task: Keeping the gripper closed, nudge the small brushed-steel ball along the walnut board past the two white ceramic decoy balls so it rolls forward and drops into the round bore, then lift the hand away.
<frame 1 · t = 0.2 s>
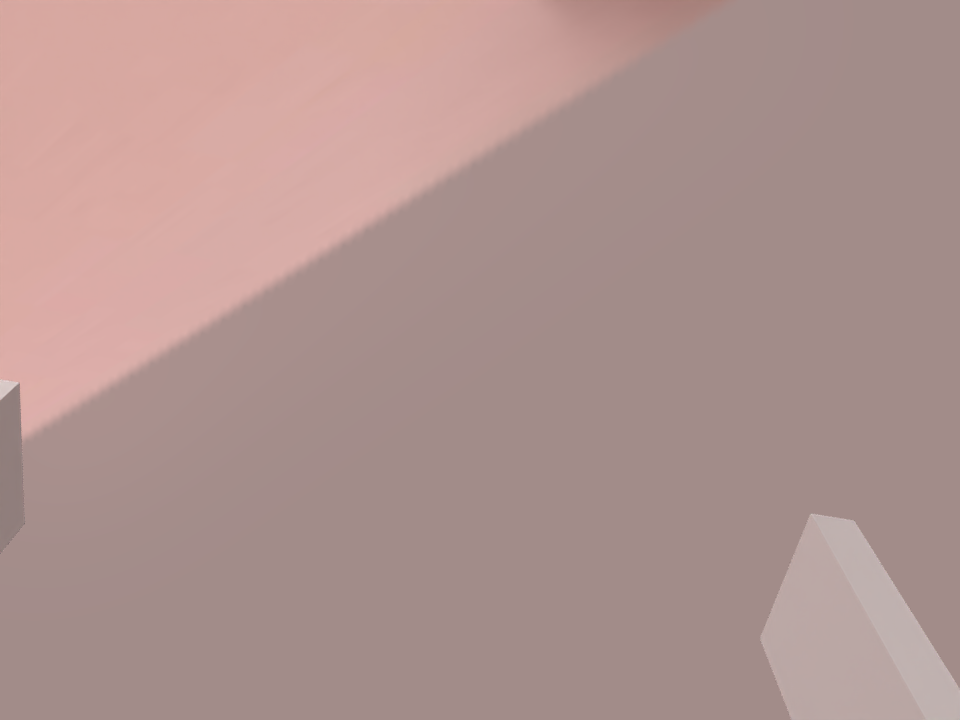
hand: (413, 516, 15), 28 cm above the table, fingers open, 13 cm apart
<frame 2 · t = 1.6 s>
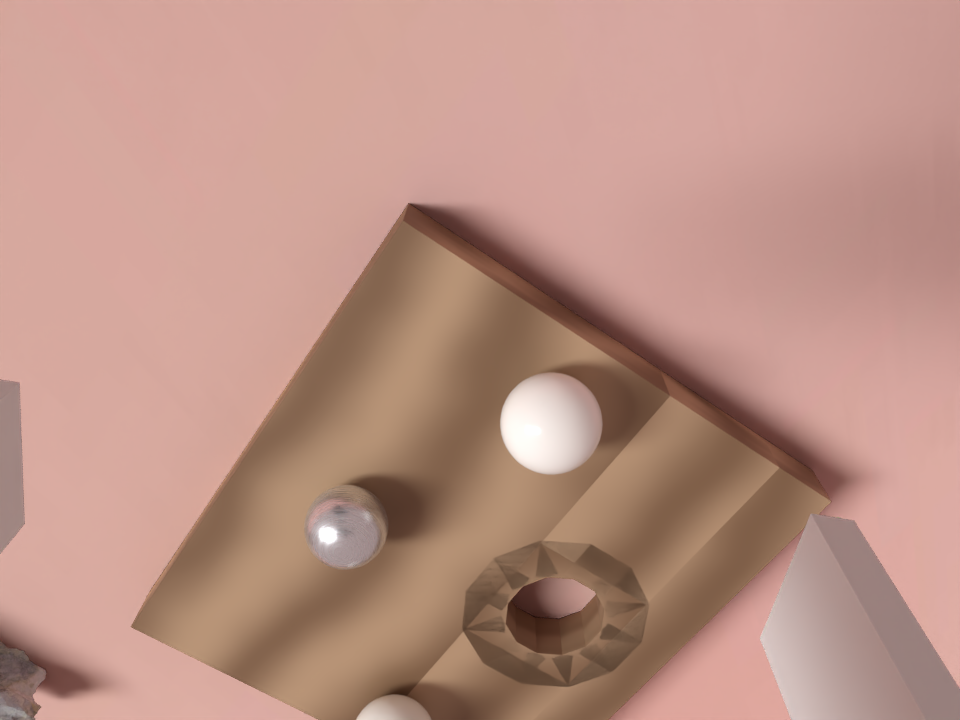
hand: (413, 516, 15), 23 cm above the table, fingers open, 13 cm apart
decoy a: (551, 423, 35), point 4 cm above the table, touching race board
steel ball: (346, 526, 38), point 4 cm above the table, touching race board
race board: (467, 534, 43), on the table
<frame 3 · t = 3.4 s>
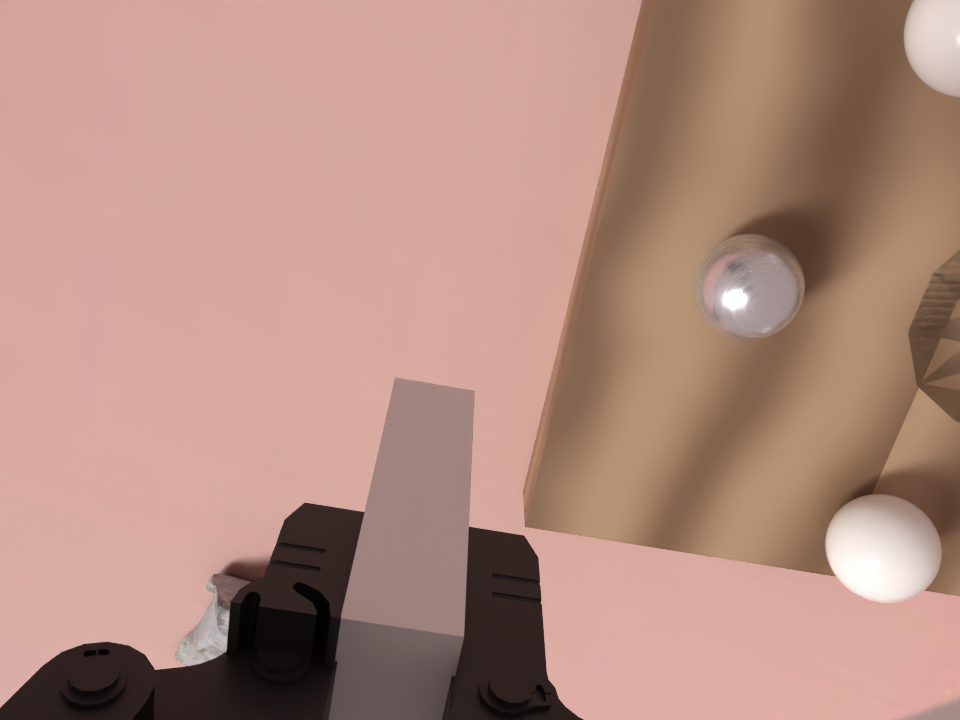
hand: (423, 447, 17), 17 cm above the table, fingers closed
decoy b: (882, 547, 34), point 4 cm above the table, touching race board
stone: (307, 618, 42), on the table
steel ball: (748, 287, 30), point 4 cm above the table, touching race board
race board: (872, 275, 34), on the table
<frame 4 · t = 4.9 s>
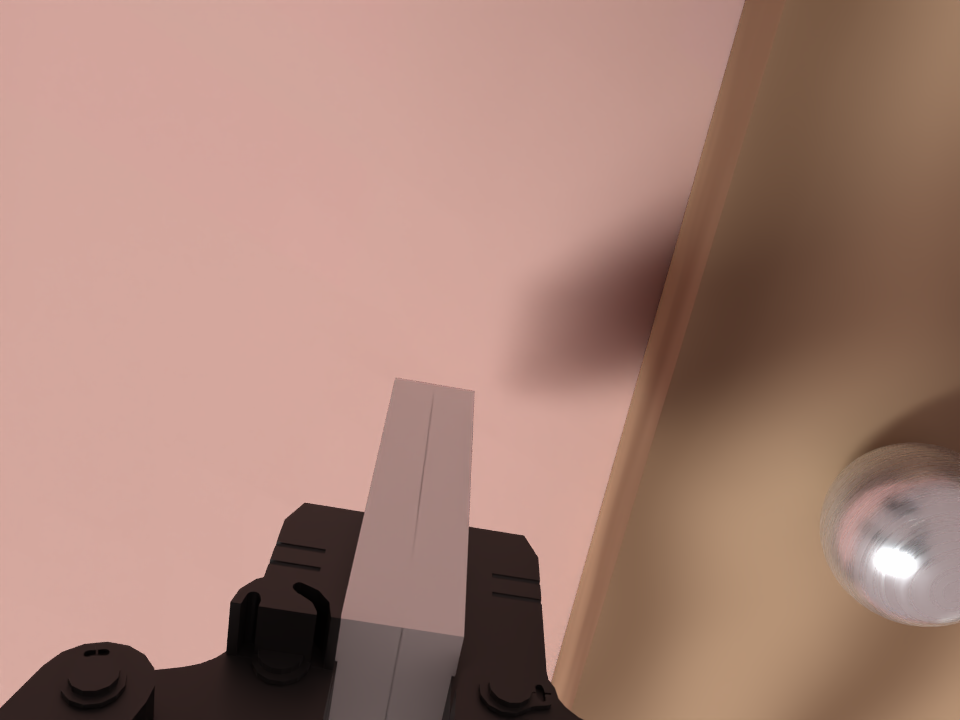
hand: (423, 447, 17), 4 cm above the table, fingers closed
steel ball: (915, 532, 17), point 4 cm above the table, touching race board
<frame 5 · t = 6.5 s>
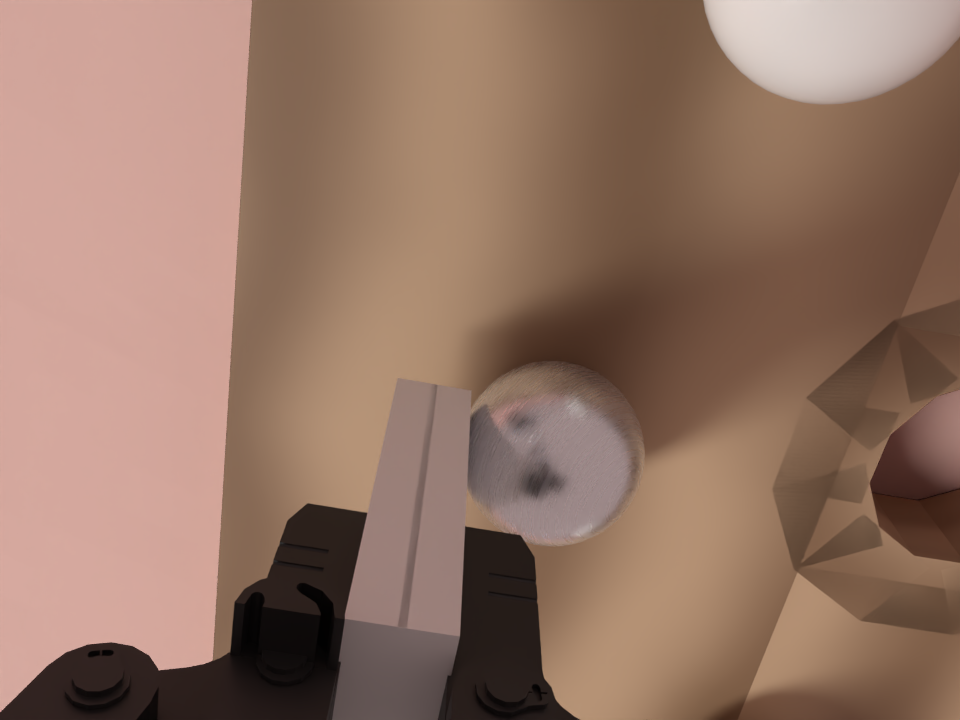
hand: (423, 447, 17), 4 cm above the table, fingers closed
steel ball: (551, 452, 17), point 4 cm above the table, tilted 48°, touching gripper, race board
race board: (726, 385, 21), on the table
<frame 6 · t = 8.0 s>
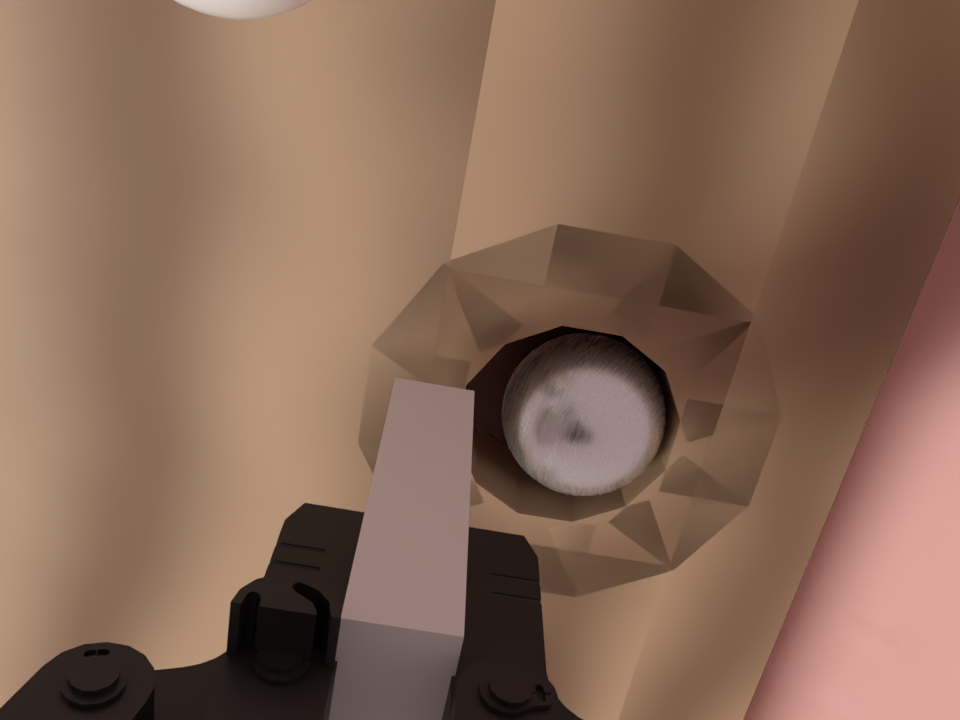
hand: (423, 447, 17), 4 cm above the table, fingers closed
steel ball: (582, 414, 19), point 2 cm above the table, tilted 62°
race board: (346, 340, 21), on the table
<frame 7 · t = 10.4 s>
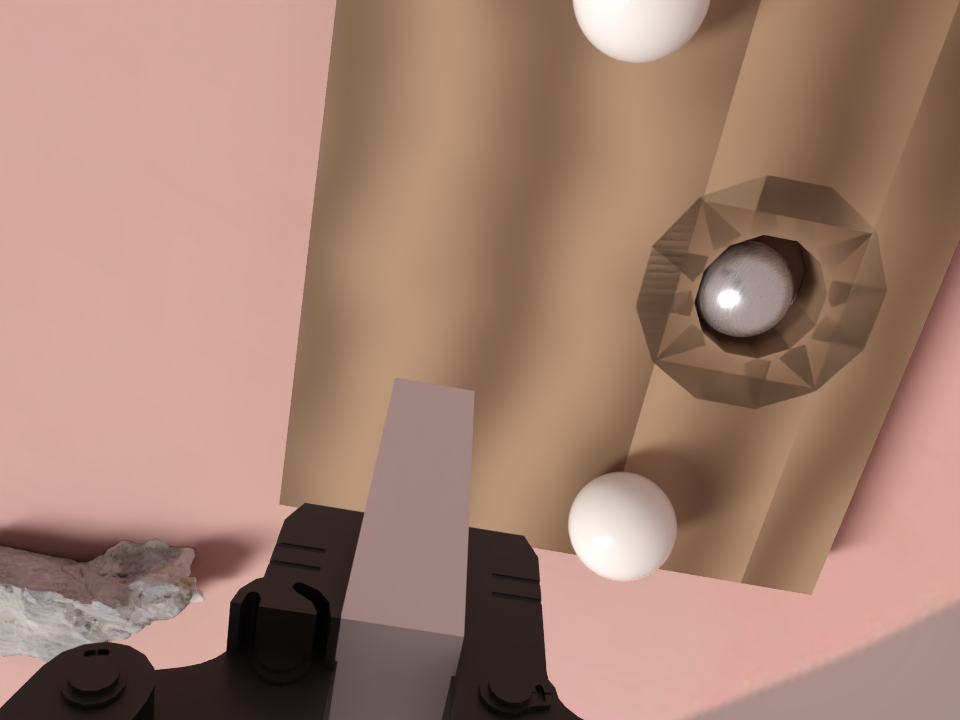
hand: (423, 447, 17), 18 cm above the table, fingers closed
decoy b: (622, 525, 33), point 4 cm above the table, touching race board
stone: (74, 577, 41), on the table
steel ball: (742, 288, 32), point 2 cm above the table, tilted 34°
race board: (614, 251, 34), on the table
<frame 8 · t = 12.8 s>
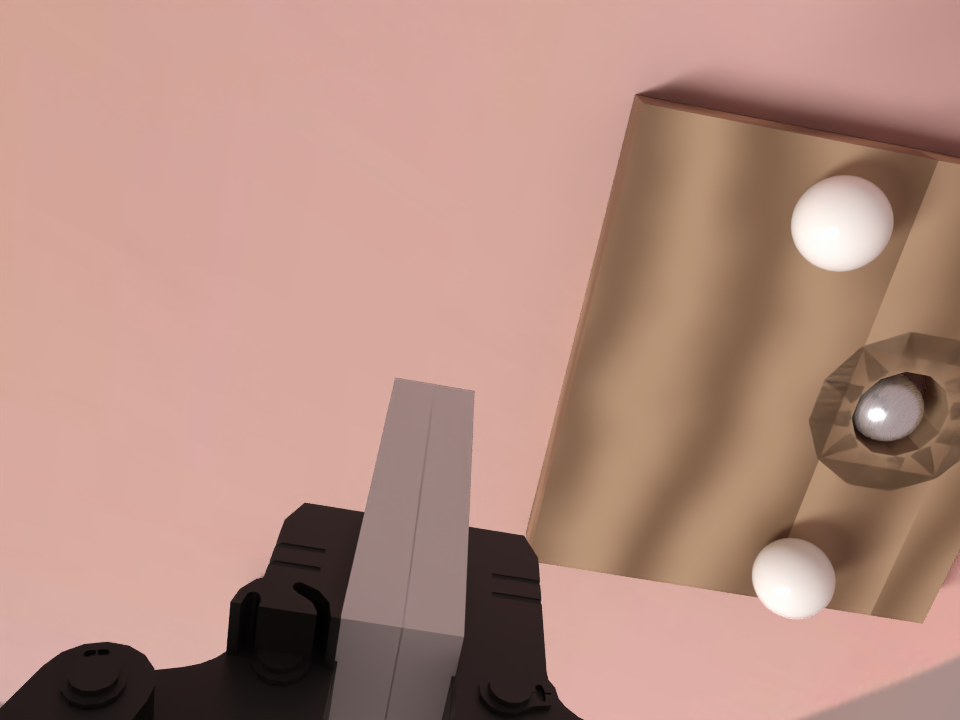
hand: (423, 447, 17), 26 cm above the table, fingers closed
decoy b: (793, 578, 45), point 4 cm above the table, touching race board
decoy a: (841, 223, 38), point 4 cm above the table, touching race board
steel ball: (884, 405, 44), point 2 cm above the table, tilted 34°
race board: (786, 375, 46), on the table
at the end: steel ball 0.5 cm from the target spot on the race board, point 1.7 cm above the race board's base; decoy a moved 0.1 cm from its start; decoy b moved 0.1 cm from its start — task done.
